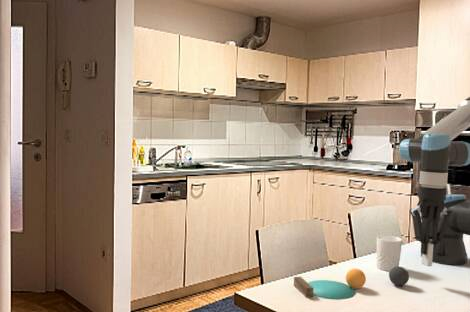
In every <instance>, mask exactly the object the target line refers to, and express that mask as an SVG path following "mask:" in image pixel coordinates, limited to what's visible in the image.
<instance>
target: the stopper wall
mask: <svg viewBox="0 0 470 312" xmlns="http://www.w3.org/2000/svg"><path fill="white" fill-rule="evenodd" d="M293 287H295V288H296V289H297V290H298V291H299V292H300V293H301V294H302V295H303V296H304V297H305V298H313V297H314V295H313V287H312V286H311V285H310V284H308V282H307V280H305V279H304V278H303V277H302V276H294V277H293Z"/></svg>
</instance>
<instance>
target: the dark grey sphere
mask: <svg viewBox="0 0 470 312" xmlns="http://www.w3.org/2000/svg"><path fill="white" fill-rule="evenodd" d="M388 272H389V273H388V278H389V280H390V282H391V283H392V284H393V285H395V286H398V287H399V286H400V287H402V286H405V285H406V284H407V283H408V282H409V280H410V275H409V272H408V270H407V269H406V268H404V267H403V266H400V265H399V266H397V267H394V268H392V269H391V270H390V271H388Z"/></svg>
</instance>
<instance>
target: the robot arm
mask: <svg viewBox="0 0 470 312" xmlns="http://www.w3.org/2000/svg"><path fill="white" fill-rule="evenodd" d="M469 128H470V96H469V97H467V98H466V99H464V100H462V101H461V102H460V103H458V104H457V107H456V109H455V110H454V111H452V112H450V113H449V114H448V115H447V116H444V118H443V119H441V120H439V121H438V122H437V123H435V124H434V125H433V126H431V127H430V128H428V129H427V130H426V131H425V132H423V133H421V134H420V135H419V136H417V137H415V138H406V139H403V140H402V141H401V142H400V143H399V146H398V154H399V157H400V158H401V159H402V160H403V161H406V162H411V163H420V167H419V177H418V178H419V179H418V183H419V184H420V185H419V186H418V192H417V198H418V202H417V206H416V207H414V208H410V209H409V214H410V215H411V217H412V224H413V226H412V227H413V232H414V239H415V240H416V241H418V242H419V243H420V244H421V245H420V257H421V265H424V266H426V267H433V263H438V264H443V265H444V264H445V265H454V266H456V265H464V264H467V263H468V253H467V249H466V245H465V240H464V235H466V236H470V200H467V199H468V198H467V195H465V194H447V188H446V187H447V186H448V178H449V177H448V174H449V167H463V166H465V167H466V166H468V165H470V143H469V142H465V141H463V140H461V141H459V140H458V141H453V140H454V139H456V138H458V136H459V135H461V134H462V133H463V132H465V131H466V130H467V129H469Z"/></svg>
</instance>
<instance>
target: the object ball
mask: <svg viewBox="0 0 470 312" xmlns="http://www.w3.org/2000/svg"><path fill="white" fill-rule="evenodd" d="M366 279H367V277H366V274H365V273H364V271H363V270H361V269H359V268H352V269H350V270H348V271H347V272H346V275H345V281H346V284H347V285H349V286H350V287H352V288H353V289H360V288H362V287H364V285H365V284H366V281H367V280H366Z"/></svg>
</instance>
